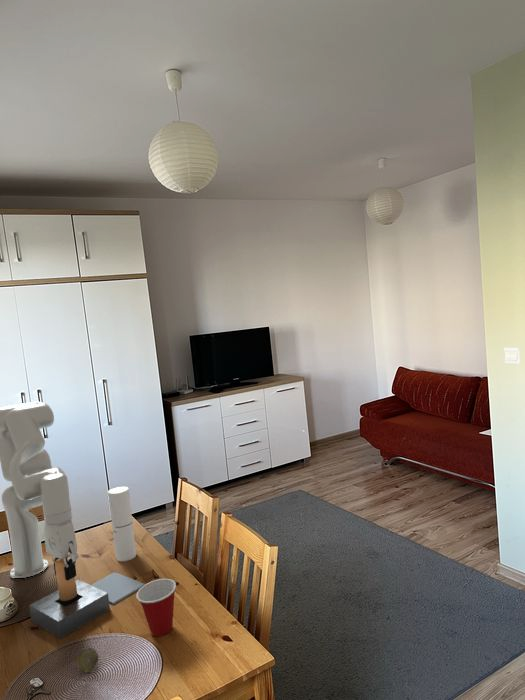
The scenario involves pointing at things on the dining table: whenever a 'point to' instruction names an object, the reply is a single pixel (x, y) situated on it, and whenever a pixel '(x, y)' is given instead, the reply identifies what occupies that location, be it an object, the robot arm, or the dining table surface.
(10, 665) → the dining table surface
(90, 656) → the lime
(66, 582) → the orange rounded cylinder
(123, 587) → the mat
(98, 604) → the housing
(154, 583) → the plastic cup
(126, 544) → the cylindrical container
